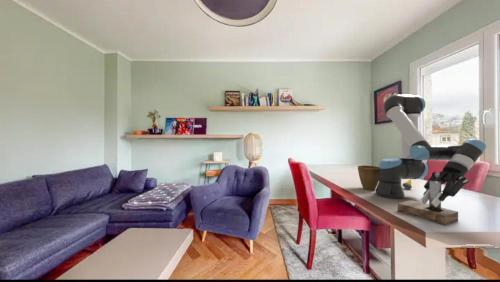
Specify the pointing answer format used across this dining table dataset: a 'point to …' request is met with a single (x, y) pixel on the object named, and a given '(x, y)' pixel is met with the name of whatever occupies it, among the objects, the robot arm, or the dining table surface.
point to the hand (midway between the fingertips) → (428, 203)
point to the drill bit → (407, 185)
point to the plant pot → (369, 176)
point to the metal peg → (434, 194)
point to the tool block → (428, 212)
